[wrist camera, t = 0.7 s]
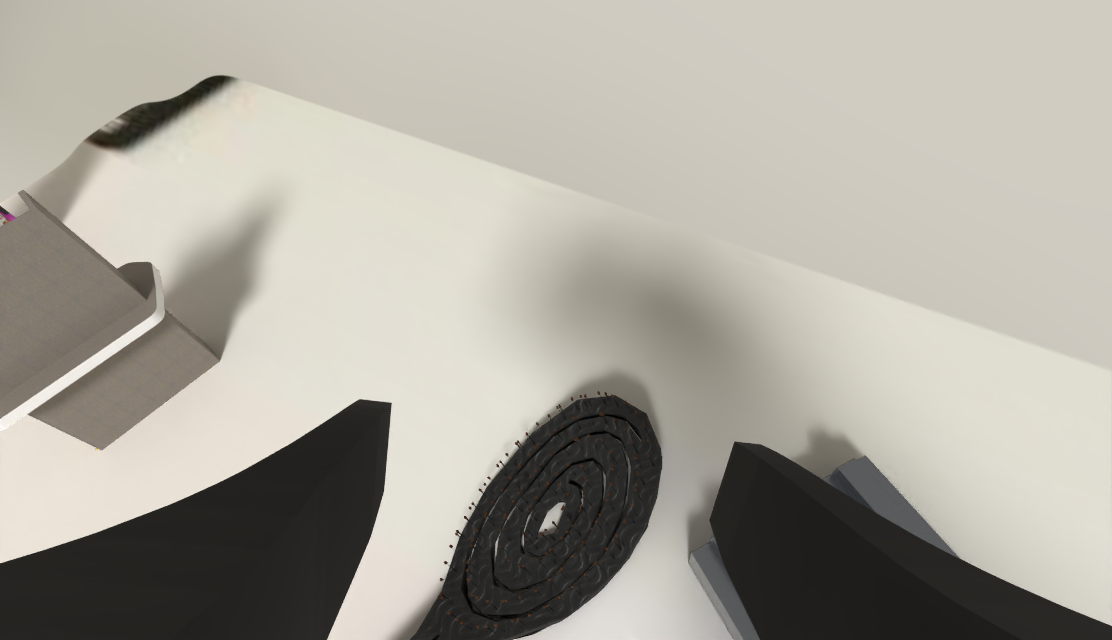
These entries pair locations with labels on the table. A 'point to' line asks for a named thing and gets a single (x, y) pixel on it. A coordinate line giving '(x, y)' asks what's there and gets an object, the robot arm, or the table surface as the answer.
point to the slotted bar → (851, 480)
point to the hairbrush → (561, 444)
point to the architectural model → (85, 334)
